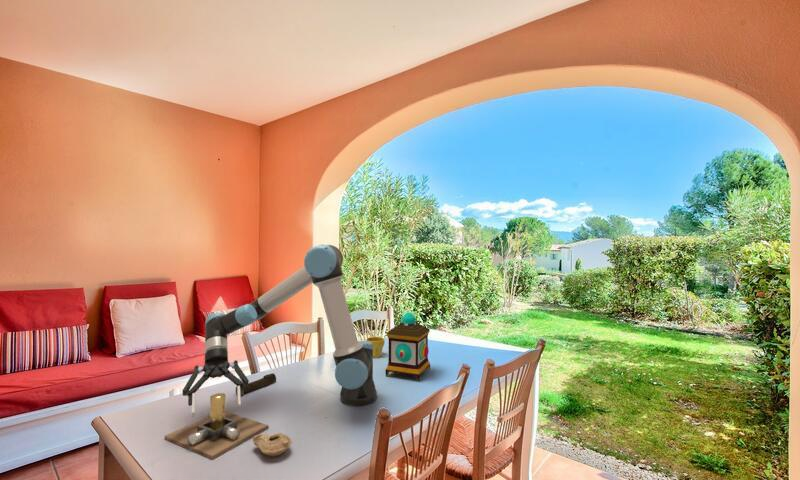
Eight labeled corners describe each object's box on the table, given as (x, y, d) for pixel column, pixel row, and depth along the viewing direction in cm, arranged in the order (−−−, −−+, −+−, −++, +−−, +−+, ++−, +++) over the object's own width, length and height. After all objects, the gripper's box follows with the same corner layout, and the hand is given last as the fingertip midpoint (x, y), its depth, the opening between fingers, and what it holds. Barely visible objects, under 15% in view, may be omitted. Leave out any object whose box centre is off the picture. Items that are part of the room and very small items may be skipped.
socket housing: (247, 433, 121) (247, 424, 121) (209, 454, 109) (209, 443, 109) (220, 424, 127) (220, 415, 127) (182, 442, 116) (182, 432, 116)
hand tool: (240, 397, 153) (240, 386, 153) (235, 394, 155) (235, 383, 155) (279, 383, 168) (279, 373, 168) (274, 381, 170) (274, 371, 170)
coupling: (227, 431, 123) (228, 394, 123) (215, 437, 119) (216, 399, 119) (219, 427, 125) (219, 392, 125) (206, 433, 121) (207, 396, 121)
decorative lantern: (381, 377, 176) (381, 314, 177) (397, 364, 195) (397, 307, 195) (421, 383, 169) (421, 317, 169) (433, 370, 187) (434, 310, 187)
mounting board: (268, 428, 127) (268, 425, 127) (212, 459, 108) (212, 456, 108) (222, 412, 138) (222, 410, 138) (164, 439, 119) (164, 435, 119)
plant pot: (383, 359, 204) (383, 341, 204) (365, 358, 204) (365, 341, 204) (384, 353, 214) (384, 336, 214) (367, 353, 215) (367, 336, 215)
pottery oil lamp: (263, 439, 119) (274, 418, 120) (287, 463, 113) (298, 441, 114) (242, 442, 111) (255, 420, 112) (267, 468, 105) (279, 444, 106)
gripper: (252, 353, 143) (256, 407, 130) (177, 362, 131) (173, 423, 118) (253, 342, 138) (258, 397, 125) (176, 351, 127) (171, 413, 113)
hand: (216, 410), depth 121 cm, fingers open, 13 cm apart
